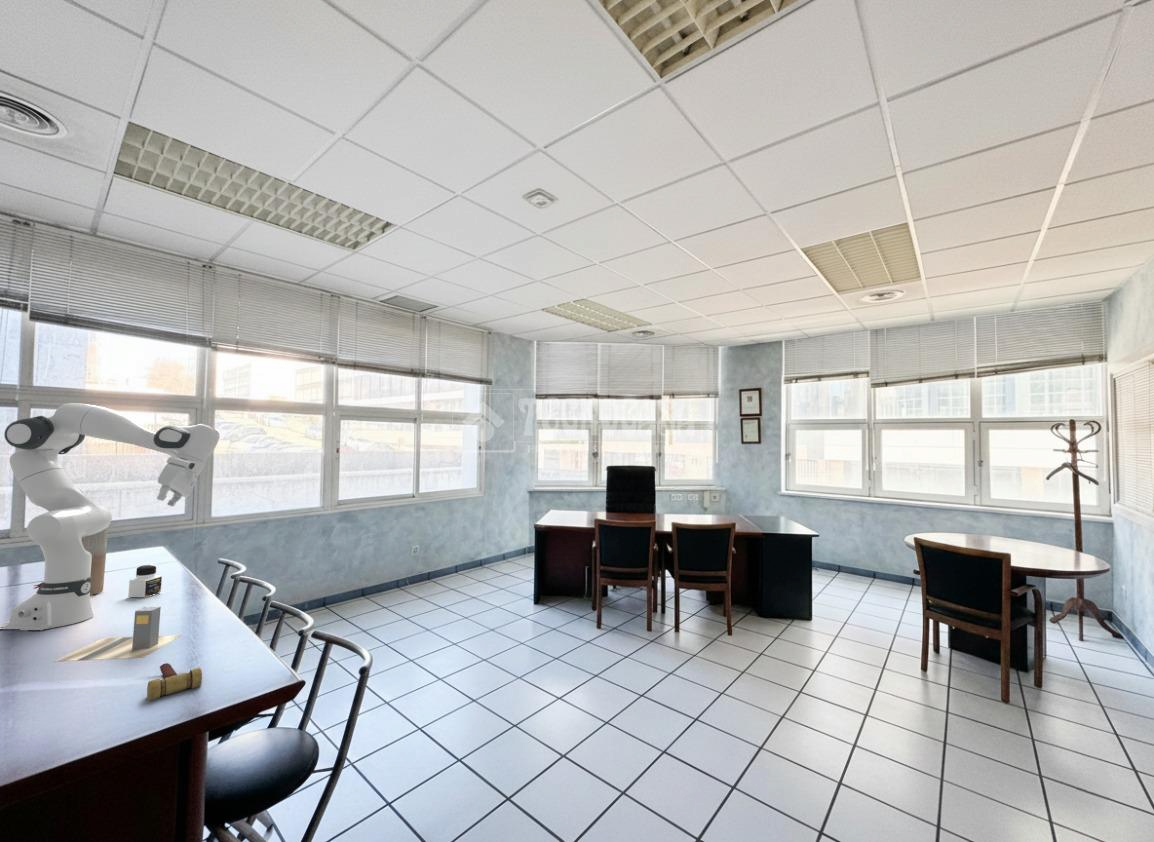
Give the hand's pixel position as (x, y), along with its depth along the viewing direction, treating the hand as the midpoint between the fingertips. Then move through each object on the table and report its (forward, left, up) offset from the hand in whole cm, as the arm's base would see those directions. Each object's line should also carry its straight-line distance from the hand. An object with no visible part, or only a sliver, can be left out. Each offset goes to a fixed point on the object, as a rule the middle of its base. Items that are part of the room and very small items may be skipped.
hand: (165, 503), depth 162 cm
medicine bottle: (-27, +35, -42) cm, 61 cm away
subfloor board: (+6, -23, -42) cm, 48 cm away
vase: (-51, +39, -42) cm, 77 cm away
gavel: (+31, -42, -42) cm, 67 cm away
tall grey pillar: (+12, -23, -40) cm, 48 cm away
